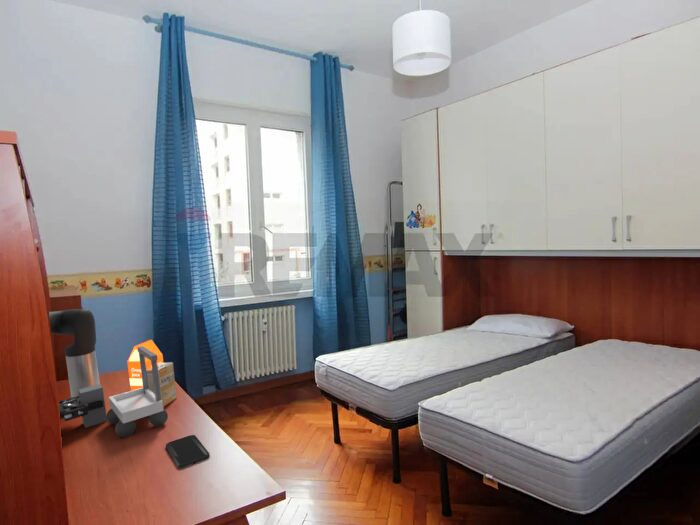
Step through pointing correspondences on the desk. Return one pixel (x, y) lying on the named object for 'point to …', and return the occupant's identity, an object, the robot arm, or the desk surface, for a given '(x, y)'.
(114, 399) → the trolley
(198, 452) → the phone
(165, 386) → the supplement box
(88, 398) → the block
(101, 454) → the desk surface
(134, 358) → the orange juice
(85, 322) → the robot arm
